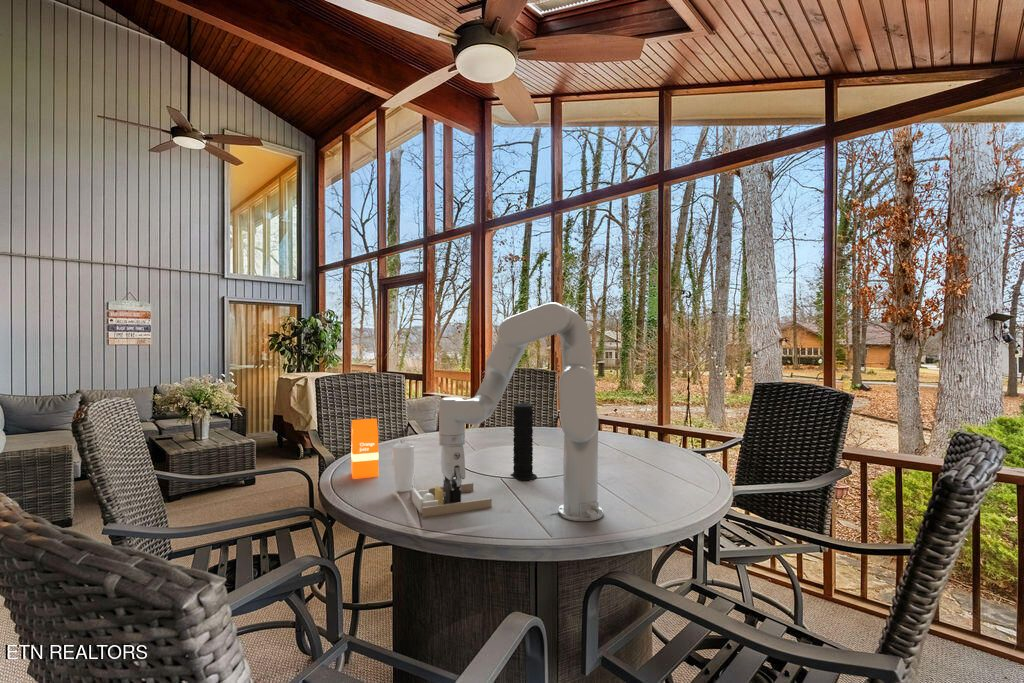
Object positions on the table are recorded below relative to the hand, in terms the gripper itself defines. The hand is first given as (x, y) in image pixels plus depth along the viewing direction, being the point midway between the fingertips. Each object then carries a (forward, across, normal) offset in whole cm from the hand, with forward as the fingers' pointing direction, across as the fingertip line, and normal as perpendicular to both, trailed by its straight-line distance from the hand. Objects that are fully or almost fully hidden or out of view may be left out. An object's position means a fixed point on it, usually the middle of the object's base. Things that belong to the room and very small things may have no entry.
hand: (452, 499), depth 150 cm
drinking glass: (+2, +18, +11) cm, 21 cm away
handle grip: (+2, +18, -31) cm, 36 cm away
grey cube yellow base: (+1, 0, +1) cm, 2 cm away
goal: (+2, 0, +8) cm, 8 cm away
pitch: (+2, 0, +1) cm, 2 cm away
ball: (-3, 0, +7) cm, 8 cm away
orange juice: (+2, +43, +20) cm, 47 cm away
